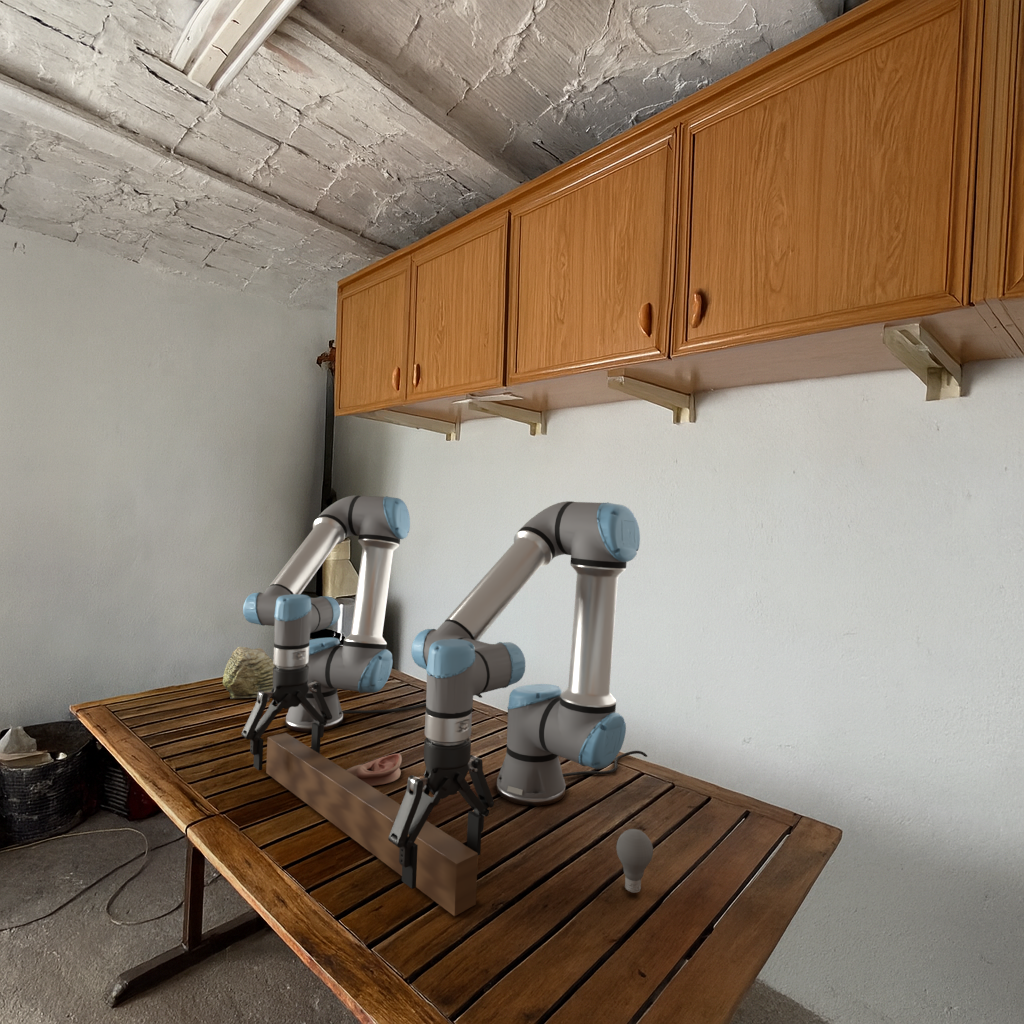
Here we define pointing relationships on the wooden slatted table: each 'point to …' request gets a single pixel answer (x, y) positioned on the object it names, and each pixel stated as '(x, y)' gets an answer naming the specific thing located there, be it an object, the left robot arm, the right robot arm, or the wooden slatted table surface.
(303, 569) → the left robot arm
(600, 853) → the wooden slatted table surface
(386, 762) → the anatomical model
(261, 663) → the fossil
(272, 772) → the bar
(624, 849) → the light bulb
